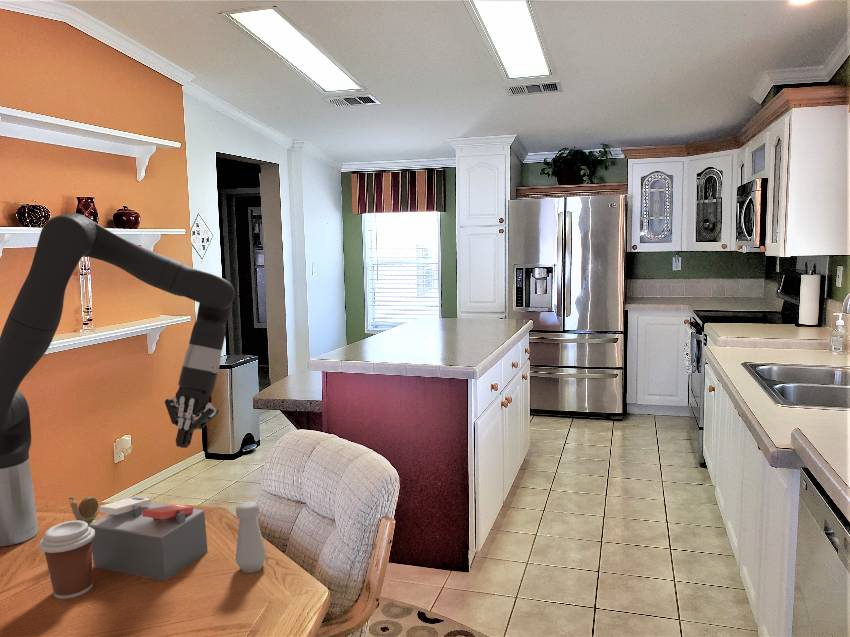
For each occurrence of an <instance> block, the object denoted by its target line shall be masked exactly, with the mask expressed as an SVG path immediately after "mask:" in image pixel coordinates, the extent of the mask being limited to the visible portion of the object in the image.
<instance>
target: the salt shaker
mask: <svg viewBox="0 0 850 637" xmlns="http://www.w3.org/2000/svg"><path fill="white" fill-rule="evenodd" d="M235 509H236V510H235V513H236V518H237V519H239V522H238V529H237V530H238V531H237V532H238V534H237V544H236V550H235V563H236V564H237V566H238V567H239V568H240V570H241V571H242V573H244V574H253V573H255V572H258V571H261V569H262V568H263V565H264V563H265V562H266V561H265V560H266V558H267V551H266V548H265V543H264V539H263V535H262V532H261V527H260V524H259V521H258V515H259V512H260V507H259V503H257V502H255V501H245V502H241V503H239V504H238V505H237V506H236V508H235Z"/></svg>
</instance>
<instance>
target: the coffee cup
mask: <svg viewBox="0 0 850 637" xmlns="http://www.w3.org/2000/svg"><path fill="white" fill-rule="evenodd" d="M94 538H95V530H94V529H92V528H91V527H88V523H86V522H85V521H79V520H69V521H64V522H61V523H57V524H54V525H53V526H51V527H49V528H48V529H47V530H45V533H44V537H43V538H42V539H41V540H40V541H39V545H38V546H39V550H41V552H43V553H44V556H45V559H46V565H47V569H48V574H49V577H50V582H51V587H52V592H53V597H55V598H56V599H58V600H67V599H73V598H77V597H79V596H82V595H84V594H86V593H87V592H89V591H90V590H91V589H92V587H93V584H94V583H93V554H92V540H93V539H94Z"/></svg>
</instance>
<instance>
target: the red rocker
mask: <svg viewBox="0 0 850 637" xmlns="http://www.w3.org/2000/svg"><path fill="white" fill-rule="evenodd" d="M170 505H171V504H170ZM193 509H194V506H189V505H188V506H187V505H183V504H182V505H181V504H180V505H179V504H172V505H171V506H165V507H159V508H152V509H146V510H143V515H142V516H143V517H150V518H157V519H164V518H169V517H175V516H176V514H178V513H180V512H181V511H182V512H185V515H186V514H191V513H193Z"/></svg>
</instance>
